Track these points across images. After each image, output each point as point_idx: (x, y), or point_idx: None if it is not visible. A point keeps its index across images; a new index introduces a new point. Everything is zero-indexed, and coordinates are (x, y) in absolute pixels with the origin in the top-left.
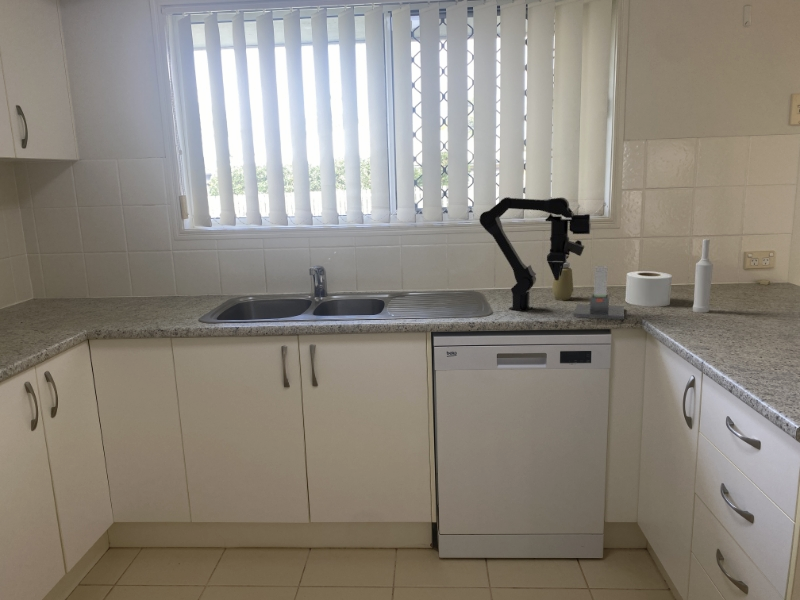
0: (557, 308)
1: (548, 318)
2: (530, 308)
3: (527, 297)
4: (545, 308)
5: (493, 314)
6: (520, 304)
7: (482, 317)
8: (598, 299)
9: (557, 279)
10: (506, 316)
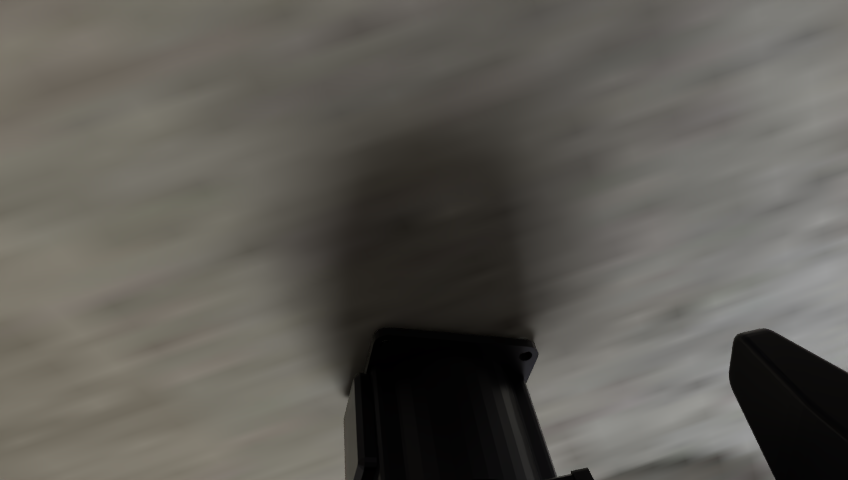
0: (229, 136)
1: (763, 58)
2: (426, 334)
3: (483, 439)
4: (302, 241)
5: (681, 448)
6: (533, 412)
7: None
8: None
9: (776, 354)
10: None
